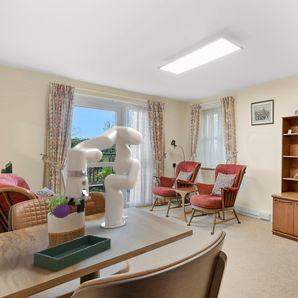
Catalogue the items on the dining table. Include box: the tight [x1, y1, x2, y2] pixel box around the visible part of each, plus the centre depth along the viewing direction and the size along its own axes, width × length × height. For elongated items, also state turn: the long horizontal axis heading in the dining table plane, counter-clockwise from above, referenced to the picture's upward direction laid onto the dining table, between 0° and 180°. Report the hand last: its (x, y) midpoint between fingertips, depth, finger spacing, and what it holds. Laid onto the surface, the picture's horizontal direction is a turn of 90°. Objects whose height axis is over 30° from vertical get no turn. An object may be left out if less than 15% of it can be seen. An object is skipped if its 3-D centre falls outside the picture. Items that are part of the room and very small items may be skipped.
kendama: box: [52, 201, 96, 219], centre depth 110 cm, size 6×6×20 cm
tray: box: [32, 233, 112, 272], centre depth 100 cm, size 23×14×5 cm, turn 161°
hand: (75, 211), depth 110 cm, fingers closed on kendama, 5 cm apart
